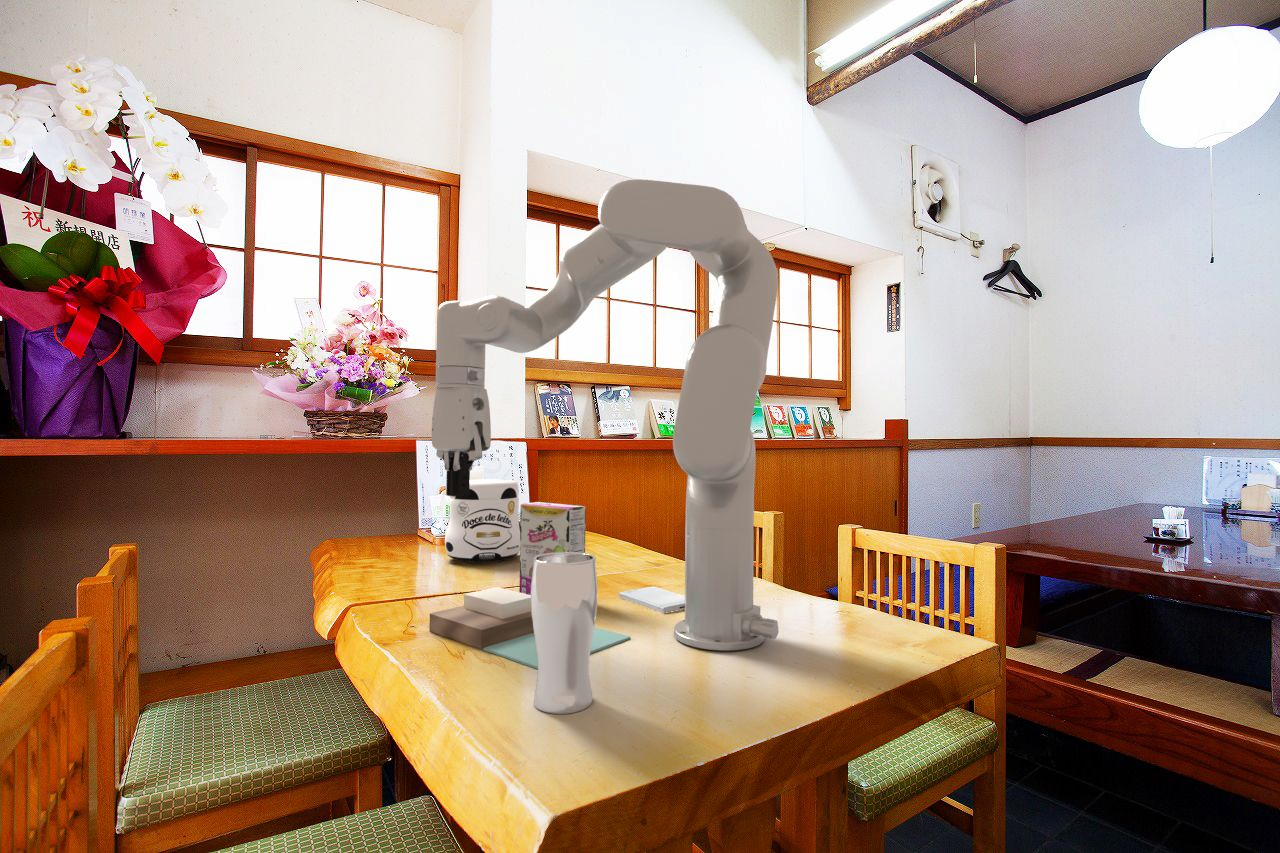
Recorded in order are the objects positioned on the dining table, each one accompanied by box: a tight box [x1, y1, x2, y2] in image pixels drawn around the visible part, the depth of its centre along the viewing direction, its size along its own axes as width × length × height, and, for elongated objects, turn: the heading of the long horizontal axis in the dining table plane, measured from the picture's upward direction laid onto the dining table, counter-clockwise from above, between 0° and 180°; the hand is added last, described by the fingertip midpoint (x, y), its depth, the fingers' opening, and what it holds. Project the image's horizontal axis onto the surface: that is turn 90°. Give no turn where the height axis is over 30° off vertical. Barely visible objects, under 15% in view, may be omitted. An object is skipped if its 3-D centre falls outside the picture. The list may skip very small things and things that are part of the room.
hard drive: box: [618, 586, 685, 614], centre depth 105 cm, size 2×8×12 cm
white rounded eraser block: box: [463, 586, 531, 619], centre depth 91 cm, size 9×6×2 cm, turn 51°
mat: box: [482, 626, 631, 670], centre depth 82 cm, size 12×16×1 cm
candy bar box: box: [518, 501, 587, 595], centre depth 106 cm, size 11×5×16 cm, turn 58°
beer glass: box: [531, 552, 599, 715], centre depth 64 cm, size 7×7×15 cm
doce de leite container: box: [444, 479, 520, 563], centre depth 142 cm, size 17×17×18 cm
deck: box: [429, 605, 534, 650], centre depth 90 cm, size 12×16×2 cm
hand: (457, 495), depth 98 cm, fingers closed
